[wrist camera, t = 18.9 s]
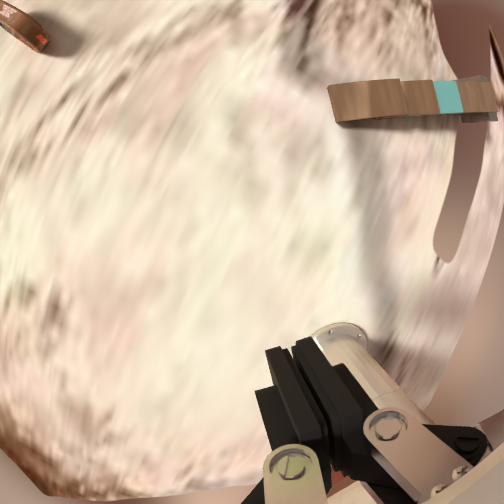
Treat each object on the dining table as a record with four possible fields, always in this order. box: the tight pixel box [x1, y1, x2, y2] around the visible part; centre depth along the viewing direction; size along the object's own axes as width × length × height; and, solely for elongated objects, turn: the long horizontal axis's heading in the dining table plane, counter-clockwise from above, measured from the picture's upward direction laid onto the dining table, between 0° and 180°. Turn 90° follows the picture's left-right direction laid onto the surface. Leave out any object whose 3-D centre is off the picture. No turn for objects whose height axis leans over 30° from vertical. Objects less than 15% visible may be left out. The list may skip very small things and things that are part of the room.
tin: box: [0, 0, 51, 53], centre depth 19 cm, size 15×3×8 cm, turn 49°
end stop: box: [453, 75, 498, 123], centre depth 34 cm, size 8×3×7 cm, turn 14°
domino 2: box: [375, 80, 440, 120], centre depth 33 cm, size 2×5×10 cm
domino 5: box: [446, 82, 498, 115], centre depth 33 cm, size 2×5×10 cm
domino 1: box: [327, 79, 408, 123], centre depth 33 cm, size 2×5×10 cm
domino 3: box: [405, 81, 463, 117], centre depth 33 cm, size 2×5×10 cm
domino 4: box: [435, 81, 483, 115], centre depth 33 cm, size 2×5×10 cm
